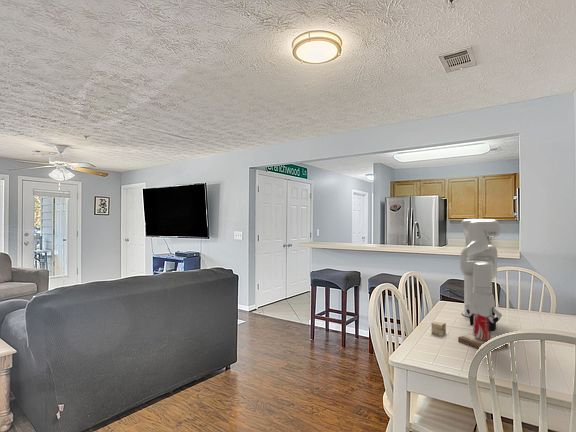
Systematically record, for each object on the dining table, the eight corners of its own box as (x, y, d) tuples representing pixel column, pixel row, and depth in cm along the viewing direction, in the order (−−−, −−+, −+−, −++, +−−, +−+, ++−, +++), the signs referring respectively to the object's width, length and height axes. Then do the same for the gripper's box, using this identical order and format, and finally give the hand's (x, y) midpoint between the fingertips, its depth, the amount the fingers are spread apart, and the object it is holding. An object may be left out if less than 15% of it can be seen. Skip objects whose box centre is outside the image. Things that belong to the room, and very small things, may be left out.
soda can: (472, 335, 157) (472, 309, 157) (489, 336, 155) (489, 310, 155) (475, 340, 151) (474, 313, 151) (493, 342, 148) (492, 315, 148)
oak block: (435, 330, 171) (435, 320, 171) (445, 333, 168) (445, 323, 168) (431, 333, 168) (431, 322, 168) (441, 335, 164) (441, 325, 164)
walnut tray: (478, 336, 162) (478, 332, 162) (508, 346, 149) (507, 341, 149) (458, 341, 156) (458, 336, 156) (486, 351, 143) (486, 346, 143)
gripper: (459, 287, 159) (460, 323, 159) (495, 294, 144) (495, 335, 143) (470, 285, 162) (470, 321, 162) (506, 293, 147) (506, 332, 146)
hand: (482, 327), depth 153 cm, fingers open, 9 cm apart
